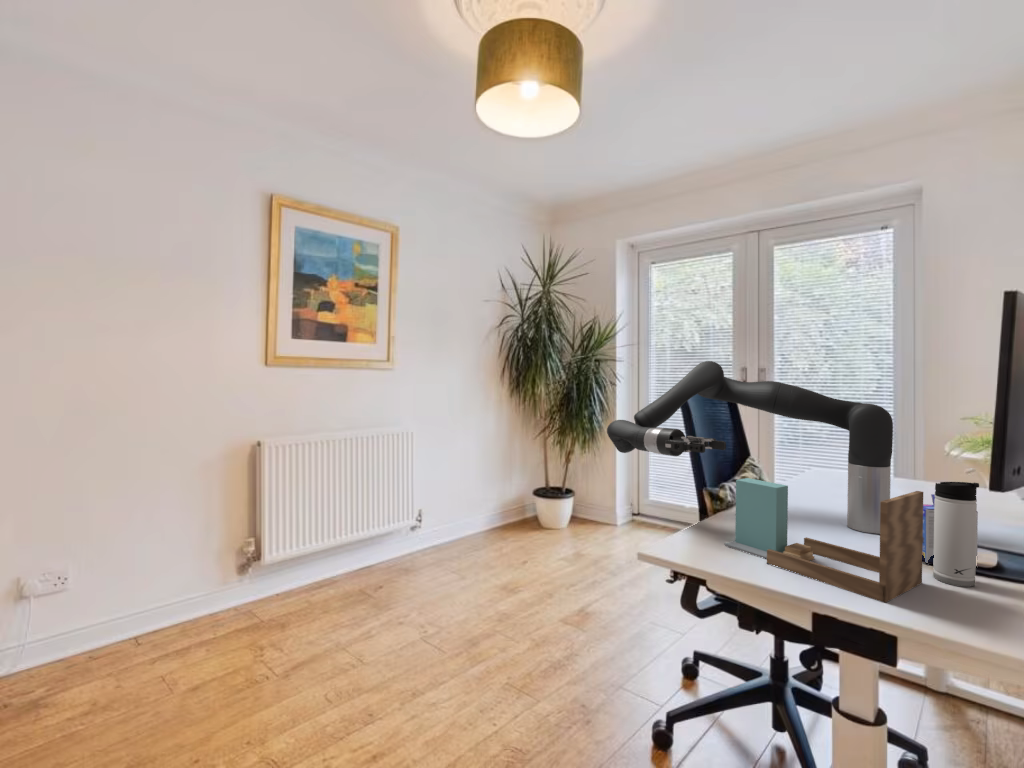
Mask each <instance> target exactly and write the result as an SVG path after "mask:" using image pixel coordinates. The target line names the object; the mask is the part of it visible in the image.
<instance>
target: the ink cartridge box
mask: <svg viewBox="0 0 1024 768" xmlns="http://www.w3.org/2000/svg"><path fill="white" fill-rule="evenodd" d="M930 496H931V499H932V504H924V503H923V548H922V555H923V556H924V558H925V562H926V563H928V560H929V559H930V557H931V556H933V555H934V499H935V493H934V494H933V493H932V494H930ZM978 515H979V512H978V511H977V513H976V556H977V555H978V531H979V530H978V526H979V525H978V524H979V523H978V517H979V516H978ZM977 557H978V556H977Z"/></svg>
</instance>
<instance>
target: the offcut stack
mask: <svg viewBox="0 0 1024 768" xmlns="http://www.w3.org/2000/svg"><path fill="white" fill-rule="evenodd" d="M783 553H784V554H788V555H791V556H794V557H798V558H801V559H804V560H808V561H810V560H811V561H814V560H815V555H814V554H813V552H811V547H810V546H806V545H804V543H800V542H799V543H798V542H794V543H792V544H789V545H788V544H787V546H785V551H783ZM813 559H814V560H813Z"/></svg>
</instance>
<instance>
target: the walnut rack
mask: <svg viewBox="0 0 1024 768" xmlns="http://www.w3.org/2000/svg"><path fill="white" fill-rule="evenodd" d="M923 504H924V491H921V490H920V491H919V490H915V491H912V492H909V493H905V494H901V495H899V496H895V497H890V499H887V500H884V501H881V503H880V534H879V556H878V555H874V554H871V553H866V552H863V551H859V550H855V549H851V548H848V547H844V546H840V545H837V544H833V543H829V542H825V541H821V540H817V539H814V538H811V537H804V538H803V545H806V546H810V547H811V552H813V555H817V556H819V557H824V558H826V557H827V559H831V560H834V561H838V562H840V561H841V563H844V564H848V565H851V566H855V567H857V568H860V569H861V568H862V569H866V570H868V571H872V572H875V573H879V579H878V580H879V581H876V580H873V579H869V578H867V577H863V576H861V575H856V574H853V573H850V572H847V571H843V570H841V569H836V568H833V567H830V566H827V565H824V564H820V563H818V562H814V561H812V560H811V561H808V560H804V559H801V558H798V557H794V556H791V555H788V554H784V553H781V552H778V551H775V550H771V549H768V550H767V559H766V564H767V563H769V564H772V565H775V566H778V567H781V568H784V569H783V570H785V569H787V570H786V571H788V570H790V571H789V572H791V571H793V572H792V573H794V572H796V573H795V574H797V573H799V574H798V575H800V574H801V575H800V576H803V575H804V577H806V576H807V577H806V578H809V577H810V578H809V579H812V578H813V579H812V580H815V579H817V580H816V581H818V580H819V581H818V582H821V581H822V582H821V583H824V582H825V583H824V584H827V585H831V586H832V587H833V586H834V587H836V588H840V589H843V590H845V591H849V592H851V593H854V594H857V595H861V596H864V597H867V598H870V599H873V600H876V601H879V602H881V603H888V602H890V601H891V600H893V599H896V598H897V597H899V596H901V595H902V594H905V593H907V592H908V591H911V590H912V589H914V588H916V587H918V586H920V585H922V584H923V562H922V548H923ZM769 564H768V565H769ZM772 565H771V566H772ZM775 566H774V567H775ZM778 567H777V568H778ZM781 568H780V569H781Z"/></svg>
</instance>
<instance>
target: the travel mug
mask: <svg viewBox="0 0 1024 768" xmlns="http://www.w3.org/2000/svg"><path fill="white" fill-rule="evenodd" d="M977 488H980V483H979V482H967V481H940V482H939V483H937V482H935V487H934V490H935V491H934V495H935V499H934V558H933V567H932V568H933V571H932V573H933V574H932V576H933V578H935V579H936V580H938V581H939V582H942V583H944V584H948V585H951V586H954V587H955V586H956V587H962V588H970V587H974V586H975V585H976V569H977V568H976V513H977V512H978V511H977V505H978V504H977V491H978V489H977Z"/></svg>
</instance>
